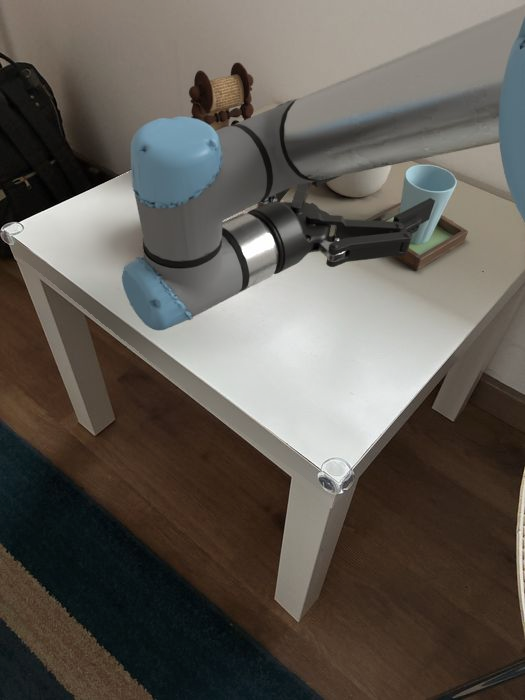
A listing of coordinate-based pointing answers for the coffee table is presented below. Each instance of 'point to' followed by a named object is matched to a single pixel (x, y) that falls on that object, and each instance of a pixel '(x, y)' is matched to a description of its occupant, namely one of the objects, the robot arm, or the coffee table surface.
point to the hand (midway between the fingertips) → (388, 183)
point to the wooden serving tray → (439, 243)
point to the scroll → (222, 97)
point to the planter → (360, 182)
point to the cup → (427, 195)
